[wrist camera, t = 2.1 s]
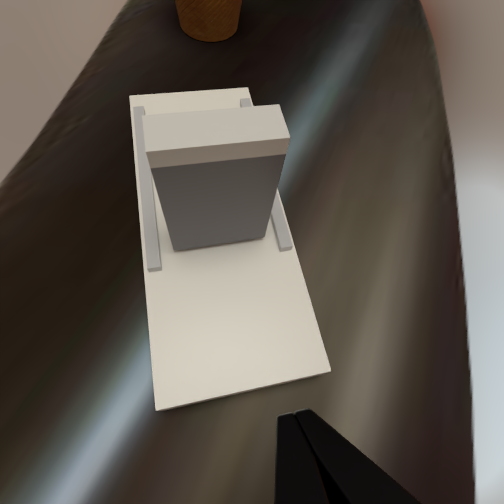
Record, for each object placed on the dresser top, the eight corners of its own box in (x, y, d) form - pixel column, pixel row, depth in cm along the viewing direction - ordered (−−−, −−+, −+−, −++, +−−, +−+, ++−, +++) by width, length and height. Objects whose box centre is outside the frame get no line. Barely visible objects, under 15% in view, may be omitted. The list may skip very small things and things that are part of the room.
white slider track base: (319, 375, 22) (334, 369, 19) (162, 410, 20) (153, 410, 17) (245, 110, 31) (248, 81, 29) (136, 119, 30) (127, 89, 27)
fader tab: (264, 237, 22) (290, 137, 14) (173, 250, 21) (145, 151, 13) (258, 212, 23) (278, 104, 15) (170, 223, 22) (141, 115, 14)
